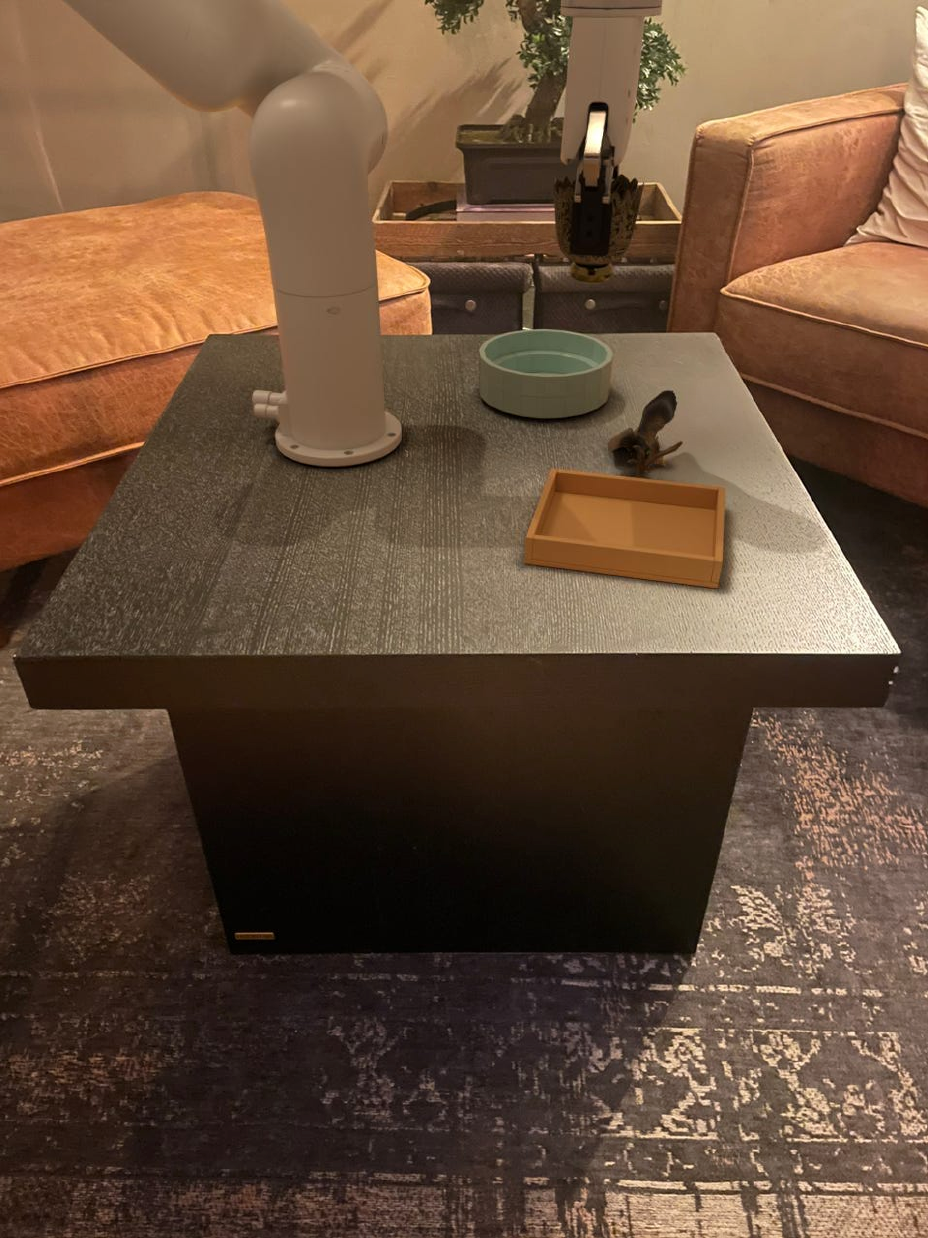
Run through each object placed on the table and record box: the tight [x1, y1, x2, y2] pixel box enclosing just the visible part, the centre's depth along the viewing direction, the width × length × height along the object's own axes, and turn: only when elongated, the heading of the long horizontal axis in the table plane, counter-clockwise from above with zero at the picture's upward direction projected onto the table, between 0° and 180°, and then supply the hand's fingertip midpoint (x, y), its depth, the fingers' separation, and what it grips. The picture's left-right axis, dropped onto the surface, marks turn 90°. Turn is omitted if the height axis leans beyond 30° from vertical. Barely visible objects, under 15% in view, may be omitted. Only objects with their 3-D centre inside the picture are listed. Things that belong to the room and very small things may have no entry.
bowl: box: [478, 328, 614, 419], centre depth 100 cm, size 14×14×5 cm
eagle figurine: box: [606, 389, 684, 478], centre depth 86 cm, size 8×7×9 cm
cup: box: [552, 173, 645, 285], centre depth 78 cm, size 8×7×8 cm
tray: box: [524, 467, 727, 589], centre depth 76 cm, size 15×12×2 cm
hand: (593, 239), depth 78 cm, fingers closed on cup, 7 cm apart
